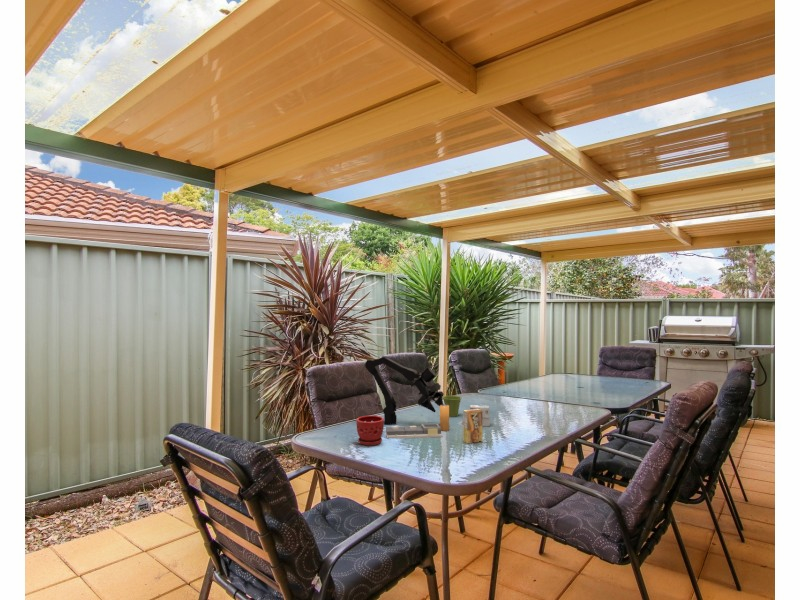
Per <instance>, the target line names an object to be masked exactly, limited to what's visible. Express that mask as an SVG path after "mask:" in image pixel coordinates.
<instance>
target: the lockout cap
mask: <svg viewBox="0 0 800 600" xmlns="http://www.w3.org/2000/svg"><path fill="white" fill-rule="evenodd" d="M439 426H440V427H441V432H448V430H449V431H450V416H449V405H445V404H444V405H440V406H439Z"/></svg>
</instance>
